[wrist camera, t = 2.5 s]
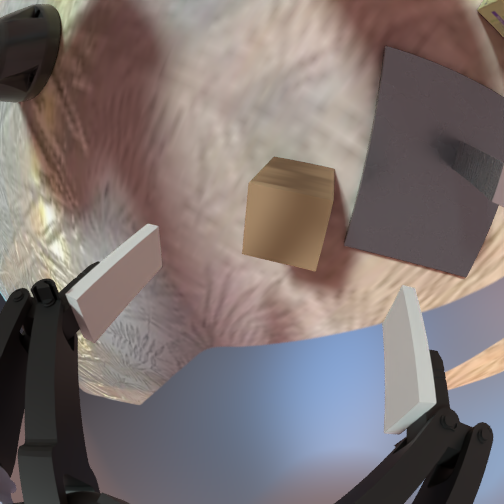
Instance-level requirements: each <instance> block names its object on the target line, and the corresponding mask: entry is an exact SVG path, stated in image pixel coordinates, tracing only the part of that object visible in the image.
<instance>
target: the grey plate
mask: <svg viewBox="0 0 504 504" xmlns="http://www.w3.org/2000/svg"><path fill="white" fill-rule="evenodd" d="M499 205H500V206H502V207H504V97H503V96H501V95H499V94H498V93H496V92H494V91H492V90H491V89H489V88H487V87H485V86H483V85H482V84H480V83H478V82H476V81H474V80H472V79H470V78H468V77H466V76H464V75H462V74H460V73H457V72H455V71H453V70H451V69H449V68H446V67H444V66H442V65H439V64H437V63H434V62H432V61H429V60H427V59H424V58H421V57H419V56H416V55H413V54H410V53H407V52H404V51H401V50H398V49H395V48H391V47H388V46H385V47H384V56H383V64H382V72H381V79H380V86H379V92H378V98H377V104H376V110H375V116H374V121H373V127H372V132H371V137H370V142H369V146H368V151H367V156H366V160H365V165H364V169H363V173H362V178H361V182H360V186H359V190H358V194H357V198H356V202H355V205H354V209H353V213H352V217H351V220H350V224H349V227H348V231H347V234H346V238H345V241H344V246H348V247H352V248H356V249H360V250H364V251H368V252H372V253H376V254H380V255H384V256H388V257H392V258H396V259H399V260H403V261H407V262H411V263H415V264H419V265H422V266H426V267H430V268H434V269H437V270H441V271H445V272H448V273H452V274H455V275H459V276H463V277H467V275H468V273H469V271H470V269H471V267H472V265H473V263H474V261H475V259H476V257H477V255H478V253H479V251H480V249H481V247H482V245H483V243H484V240H485V238H486V236H487V233H488V231H489V229H490V226H491V224H492V221H493V219H494V216H495V214H496V211H497V209H498V206H499Z"/></svg>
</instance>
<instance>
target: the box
mask: <svg viewBox="0 0 504 504" xmlns="http://www.w3.org/2000/svg"><path fill="white" fill-rule="evenodd" d="M477 11H478V12H479V13H480V14H481V15H482V16H483V17H484V18H485V19H486V20H487V21H488V22H489V23H490V24H491V25H492V26H493V27H494V28H495V29H496V30H497V31H498V32H499V33H500V34H501V35H502V36H503V38H504V0H483V2H482V3H481V5H480V7H479V8H478V9H477Z"/></svg>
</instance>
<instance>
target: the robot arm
mask: <svg viewBox="0 0 504 504" xmlns="http://www.w3.org/2000/svg"><path fill="white" fill-rule="evenodd" d="M59 40H60V19H59V15H58V12H57V10H56V9H55V8H54V7H53V6H52V5H48V4H36V5H31V6H28V7H26V8H23V9H20V10H18V11H15V12H13V13H10V14H8V15H5V16H3V17H1V18H0V101H4V102H22V101H25V100H29V99H32V98H34V97H35V96H36V95H37V94H38V93H39V92H40V91H41V90H42V89H43V87H44V85H45V84H46V82H47V80H48V78H49V76H50V74H51V71H52V69H53V66H54V63H55V60H56V56H57V52H58V47H59ZM161 268H162V257H161V246H160V234H159V226H156V225H152V224H146V225H145V226H144V227H143V228H141V229H140V230H139V231H138V232H136V233H135V234H134V235H133V236H131V237H130V238H129V239H128V240H126V241H125V242H124V243H123V244H122V245H120V246H119V247H118V248H117V249H115V250H114V251H113V252H112V253H111V254H110V255H108V256H107V257H106V258H105V259H104V260H102V261H101V262H99V261H98V262H96V263H94V264H92V265H90V266H88V267H87V268H86V269H85V270H84V271H83V272H82V273H80V274H79V275H78V276H77V278H75V279H73V280H72V281H71V282H70V283H69V284H68V285H67V286H66V287H65V288H64V289H62V290H61V291H60V292H58V290H57V287H56V285H55V282H54V281H53V280H51V279H42V280H40V281H38V282H36V283H35V284H34V285H33V286H32V288H31V292H32V294H33V296H34V298H33V297H31V295H30V293H29V291H28V290H27V289H25V288H21V289H18V290H15V291H14V292H13V293H12V294H11V295H10V296H9V298H8V300H7V302H6V304H5V306H4V307H3V309H2V311H1V313H0V504H129V503H127V502H125V501H123V500H121V499H118V498H115V497H112V496H110V495H107V494H104V493H102V494H101V493H100V491H99V487H98V483H97V480H96V477H95V475H94V473H93V471H92V470H91V468H90V466H89V463H88V458H87V452H86V447H85V440H84V434H83V427H82V418H81V409H80V397H79V382H78V337H77V334H76V332H77V331H78V330H79V329H80V330H81V333H82V335H83V337H84V338H86V339H88V340H90V341H91V342H93V343H95V342H96V341H97V340H98V339H99V338H100V336H101V335H102V334H103V333H104V332H105V330H106V329H107V328H108V327H109V326H110V325H111V323H112V322H113V321H114V320H115V319H116V318H117V316H118V315H119V314H120V313H121V312H122V311H123V310H124V308H125V307H126V306H127V305H128V304H129V303H130V302H131V301H132V299H133V298H134V297H135V296H136V295H137V294H138V293H139V292H140V291H141V289H142V288H143V287H144V286H145V285H146V284H147V283H148V282H149V281H150V280H151V278H152V277H153V276H154V275H155V274H156V273H157V272H158V271H159V270H160V269H161ZM382 325H383V339H384V359H385V420H384V433H386V434H401V433H402V432H403V431H405V430H406V429H407V437H405V438H404V439H403V440H401V441H400V442H399V443H397V444H396V445H395V447H396V448H395V449H394V450H393V451H392V452H391V453H390V454H389V455H388V456H387V457H386V458H385V459H384V460H383V461H382V462H381V463H380V464H379V465H378V466H377V467H376V468H375V469H374V470H373V471H372V472H371V473H370V474H369V475H368V476H367V477H366V478H364V479H363V480H362V481H361V482H360V483H359V484H358V485H356V486H355V487H354V488H353V489H352V490H351V491H350V492H348V493H347V494H346V495H345V496H343V497H342V498H341V499H340V500H338V501H337V502H336V503H335V504H404V503H405V502H406V500H407V499H408V498H409V497H410V496H411V495H412V494H413V493H414V491H415V490H416V489H417V488H418V486H419V485H420V484H421V483H422V482H423V481H424V482H423V484H422V486H421V488H420V490H419V492H418V494H417V496H416V497H415V499H414V501H413V503H412V504H473V502H474V499H475V497H476V494H477V492H478V489H479V486H480V483H481V481H482V478H483V474H484V471H485V468H486V464H487V462H488V458H489V454H490V450H491V446H492V443H493V433H492V429H491V428H490V426H489V425H488V424H486V423H483V422H482V423H478V424H477V425H476V426H474V427H470V426H468V425H465V424H463V423H461V422H460V421H459V418H458V415H457V414H456V413H455V411H453V410H451V409H450V405H449V397H448V390H447V383H446V380H445V378H446V377H445V372H444V366H443V361H442V359H441V357H440V355H439V353H438V351H434V350H429V347H428V342H427V337H426V332H425V327H424V322H423V318H422V314H421V310H420V305H419V301H418V298H417V294H416V290H415V288H412V287H408V286H404V285H402V286H401V288H400V291H399V293H398V295H397V297H396V299H395V301H394V303H393V305H392V306H391V308H390V310H389V312H388V314H387V316H386V318H385V320H384V322H383V323H382ZM21 327H22V328H23V330H24V331H23V333H22V334H21V333H20V332H19V331H20V329H21ZM24 409H25V444H24V445H22V446H20V447H19V449H18V464H19V472H20V481H21V487H22V493H23V499H24V502H20V503H13V501H12V499H11V493H14V492H15V491H16V485H15V483H14V482H13V481H12V480H10V477H11V475H12V472H13V468H14V465H15V460H16V454H17V447H18V440H19V434H20V429H21V423H22V418H23V414H24ZM424 479H425V480H424Z"/></svg>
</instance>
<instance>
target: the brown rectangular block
mask: <svg viewBox="0 0 504 504" xmlns="http://www.w3.org/2000/svg"><path fill="white" fill-rule="evenodd" d="M333 201H334V169H332V168H328V167H324V166H319V165H314V164H310V163H305V162H300V161H295V160H289V159H284V158H278V157H273V158H272V159H271V160H270V161H269V162H268V164H267V165H266V166H265V167H264V168H263V169H262V170H261V171H260V172H259V173H258V174H257V175H256V176H255V177H254V178H253V179H252V180H251V181H250V182H249V185H248V195H247V206H246V217H245V228H244V239H243V250H242V254H244V255H249V256H253V257H257V258H261V259H265V260H269V261H274V262H278V263H282V264H286V265H290V266H295V267H299V268H303V269H307V270H312V271H316V268H317V265H318V261H319V257H320V253H321V250H322V246H323V242H324V238H325V234H326V230H327V226H328V222H329V218H330V214H331V210H332V205H333Z"/></svg>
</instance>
